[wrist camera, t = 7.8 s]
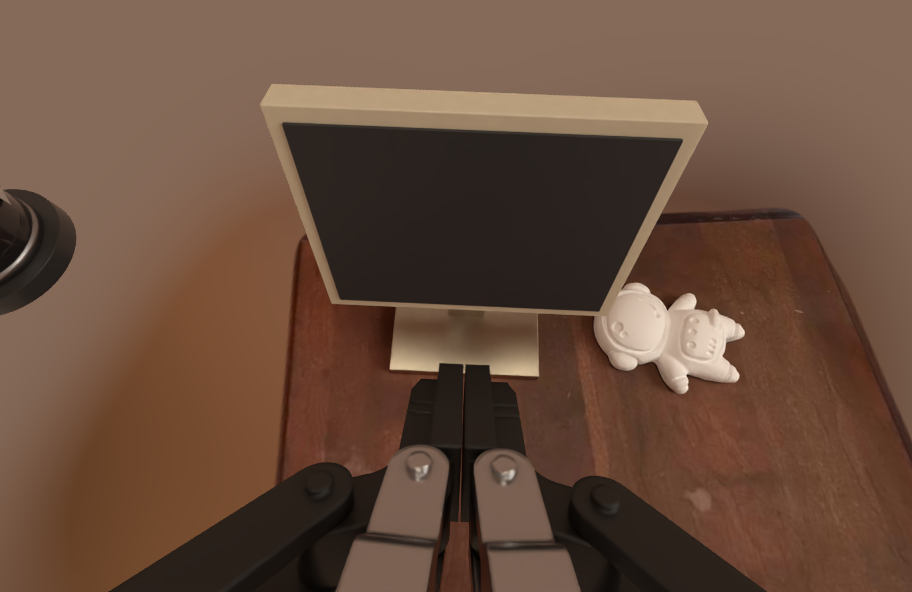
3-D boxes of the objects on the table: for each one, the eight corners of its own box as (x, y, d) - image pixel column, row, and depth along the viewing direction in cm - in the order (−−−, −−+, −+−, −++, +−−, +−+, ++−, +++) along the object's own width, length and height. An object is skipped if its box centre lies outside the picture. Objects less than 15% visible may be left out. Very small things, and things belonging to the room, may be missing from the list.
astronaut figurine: (724, 414, 35) (747, 409, 32) (580, 354, 37) (590, 344, 34) (743, 320, 38) (766, 307, 35) (609, 269, 40) (621, 253, 37)
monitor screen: (607, 318, 27) (710, 125, 16) (330, 306, 27) (257, 106, 16) (603, 296, 28) (697, 100, 17) (336, 283, 28) (271, 83, 18)
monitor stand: (536, 380, 36) (575, 336, 24) (390, 373, 36) (362, 326, 25) (534, 280, 39) (567, 201, 28) (401, 274, 39) (380, 193, 28)
